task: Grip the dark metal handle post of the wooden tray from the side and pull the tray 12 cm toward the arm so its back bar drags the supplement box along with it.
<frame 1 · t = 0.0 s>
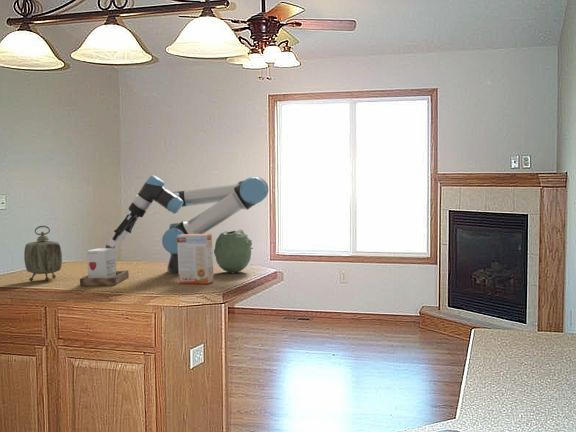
hand: (114, 244, 309), 15 cm above the countertop, tool tilted 35°, fingers open, 13 cm apart
cracker box: (196, 283, 287), on the countertop
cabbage: (233, 273, 314), on the countertop
wooden tray: (104, 264, 298), point 8 cm above the countertop, slide at 0.0 cm
tabletop clock: (45, 280, 307), on the countertop
supplement box: (102, 283, 294), resting in wooden tray
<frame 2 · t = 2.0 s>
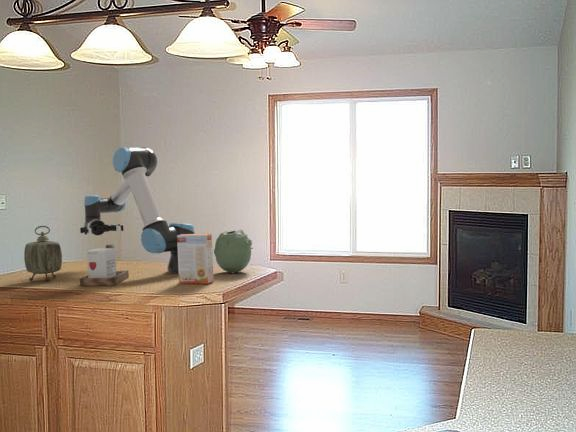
hand: (105, 230, 315), 21 cm above the countertop, tool horizontal, fingers open, 13 cm apart
nothing on the countertop moved.
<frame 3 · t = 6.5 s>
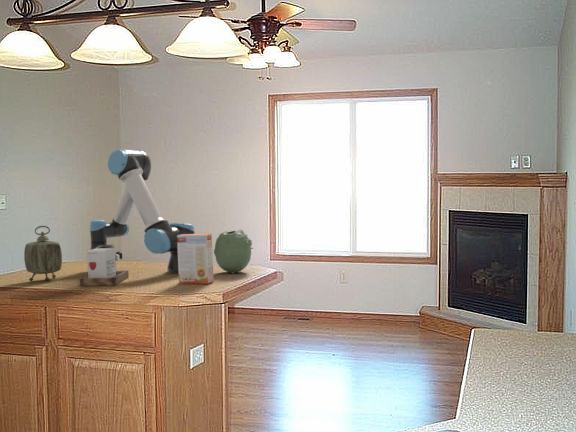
hand: (113, 258, 302), 9 cm above the countertop, tool horizontal, fingers closed on wooden tray, 4 cm apart
wooden tray: (104, 264, 298), point 8 cm above the countertop, slide at 0.0 cm, touching gripper
everything else where it was.
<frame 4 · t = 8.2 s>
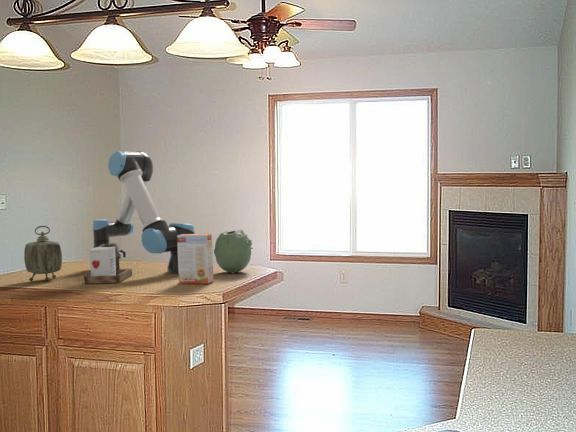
hand: (117, 256, 308), 10 cm above the countertop, tool horizontal, fingers closed on wooden tray, 4 cm apart
wooden tray: (108, 262, 304), point 8 cm above the countertop, slide at 6.0 cm, touching gripper
supplement box: (103, 281, 298), resting in wooden tray
everything else where it was.
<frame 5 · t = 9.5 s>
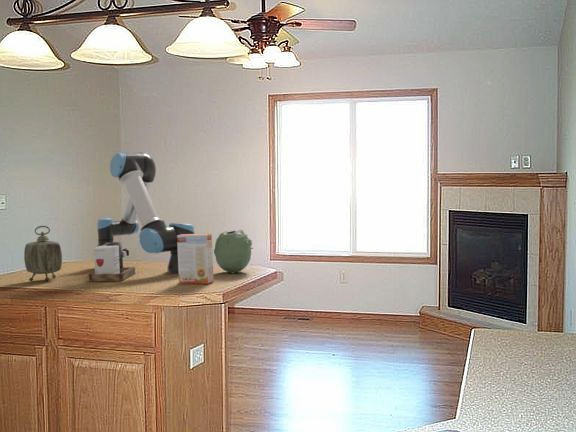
hand: (120, 255, 314), 10 cm above the countertop, tool horizontal, fingers closed on wooden tray, 4 cm apart
wooden tray: (112, 260, 309), point 8 cm above the countertop, slide at 11.7 cm, touching gripper, supplement box
supplement box: (107, 279, 304), resting in wooden tray
everything else where it was.
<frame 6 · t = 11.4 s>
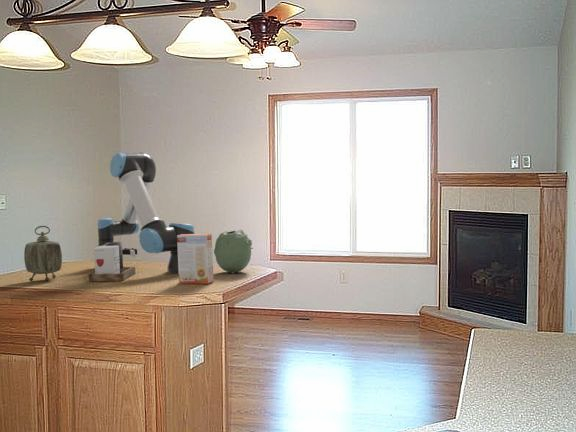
hand: (119, 254, 316), 9 cm above the countertop, tool horizontal, fingers open, 13 cm apart
wooden tray: (112, 260, 309), point 8 cm above the countertop, slide at 11.9 cm
supplement box: (107, 279, 304), resting in wooden tray
everything else where it was.
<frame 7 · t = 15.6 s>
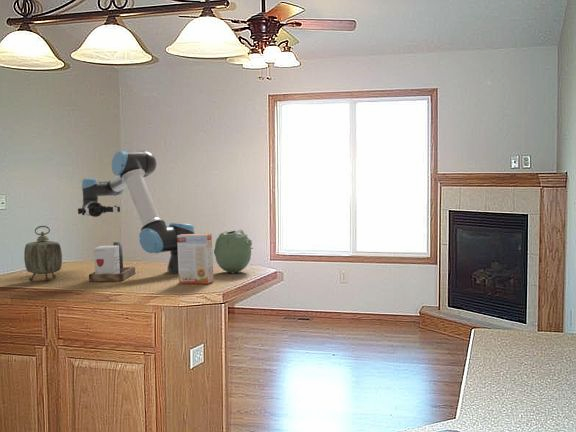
hand: (102, 210, 324), 30 cm above the countertop, tool horizontal, fingers open, 13 cm apart
nothing on the countertop moved.
at the end: wooden tray slide at 11.9 cm; supplement box inside the target area (1.1 cm from its centre), resting in wooden tray; supplement box tilted 0° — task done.
